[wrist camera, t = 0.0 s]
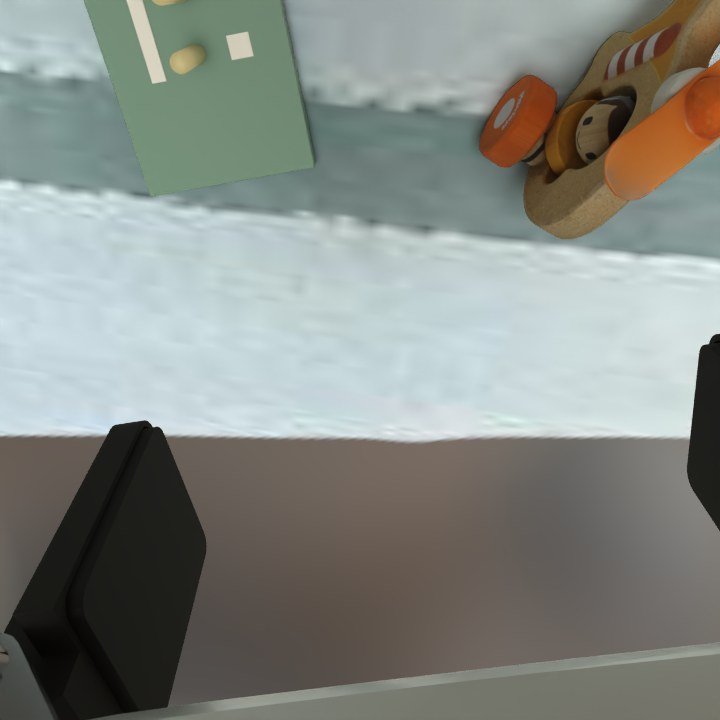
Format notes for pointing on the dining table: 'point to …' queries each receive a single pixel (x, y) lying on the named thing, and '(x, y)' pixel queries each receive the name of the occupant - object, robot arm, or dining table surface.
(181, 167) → the header board
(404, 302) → the dining table surface
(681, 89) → the toy helicopter
